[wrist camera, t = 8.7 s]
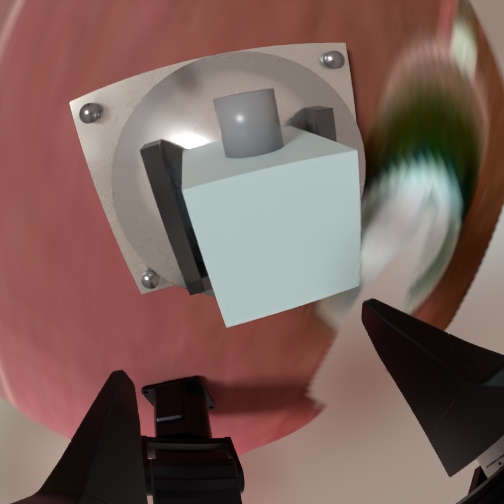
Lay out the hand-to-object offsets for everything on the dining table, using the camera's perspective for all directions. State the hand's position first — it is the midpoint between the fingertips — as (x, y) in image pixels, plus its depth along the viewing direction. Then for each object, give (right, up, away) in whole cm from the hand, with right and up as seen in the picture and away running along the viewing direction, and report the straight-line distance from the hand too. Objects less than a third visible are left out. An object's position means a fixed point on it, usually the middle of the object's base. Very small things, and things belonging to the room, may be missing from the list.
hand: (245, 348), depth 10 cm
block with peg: (0, +6, +4) cm, 8 cm away
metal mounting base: (-1, +9, +8) cm, 12 cm away
